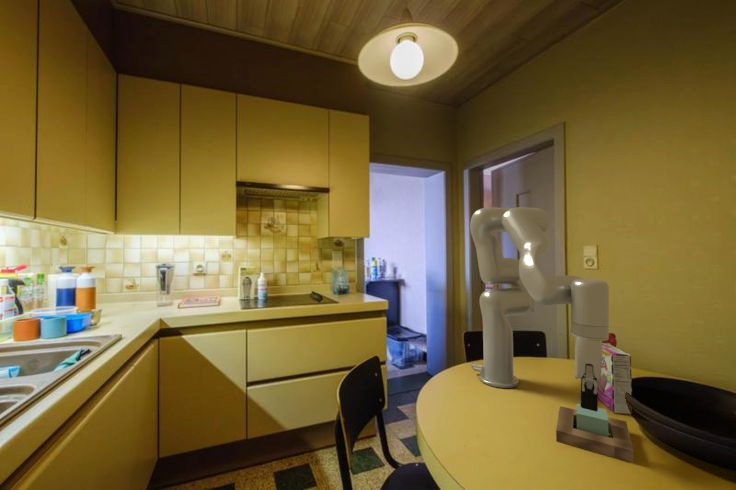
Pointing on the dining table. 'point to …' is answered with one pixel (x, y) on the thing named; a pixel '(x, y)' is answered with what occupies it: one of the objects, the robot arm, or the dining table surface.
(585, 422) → the teal cube
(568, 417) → the walnut puzzle board
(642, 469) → the dining table surface
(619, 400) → the candy bar box
